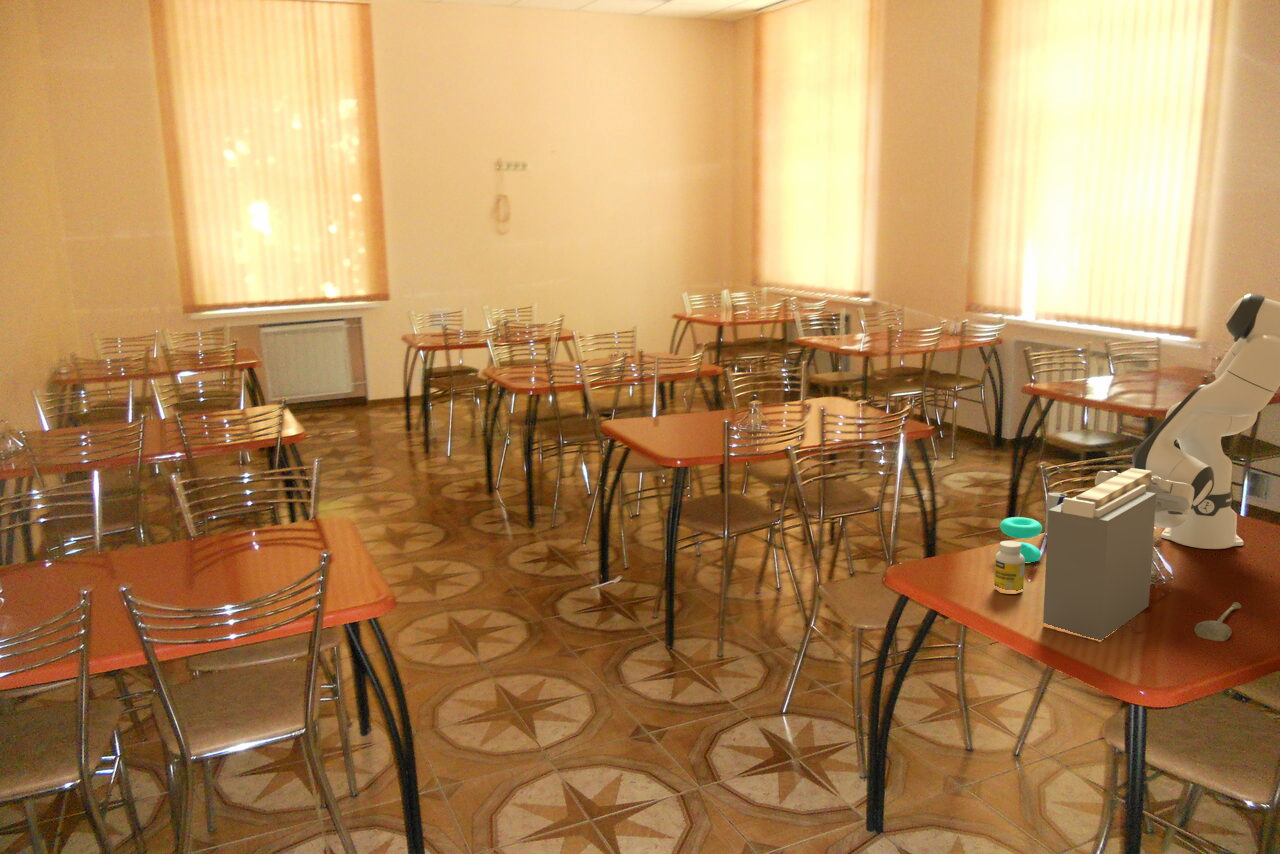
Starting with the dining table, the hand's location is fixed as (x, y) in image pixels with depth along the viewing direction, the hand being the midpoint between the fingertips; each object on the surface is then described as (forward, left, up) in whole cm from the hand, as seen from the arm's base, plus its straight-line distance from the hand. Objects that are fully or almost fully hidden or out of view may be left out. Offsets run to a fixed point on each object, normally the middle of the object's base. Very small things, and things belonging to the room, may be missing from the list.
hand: (1133, 477), depth 217 cm
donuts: (-18, -25, -28) cm, 42 cm away
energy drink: (-40, -18, -28) cm, 52 cm away
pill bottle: (+6, -25, -28) cm, 38 cm away
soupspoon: (+10, +18, -29) cm, 36 cm away
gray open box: (+15, -6, -28) cm, 32 cm away
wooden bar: (+10, -4, -2) cm, 11 cm away
